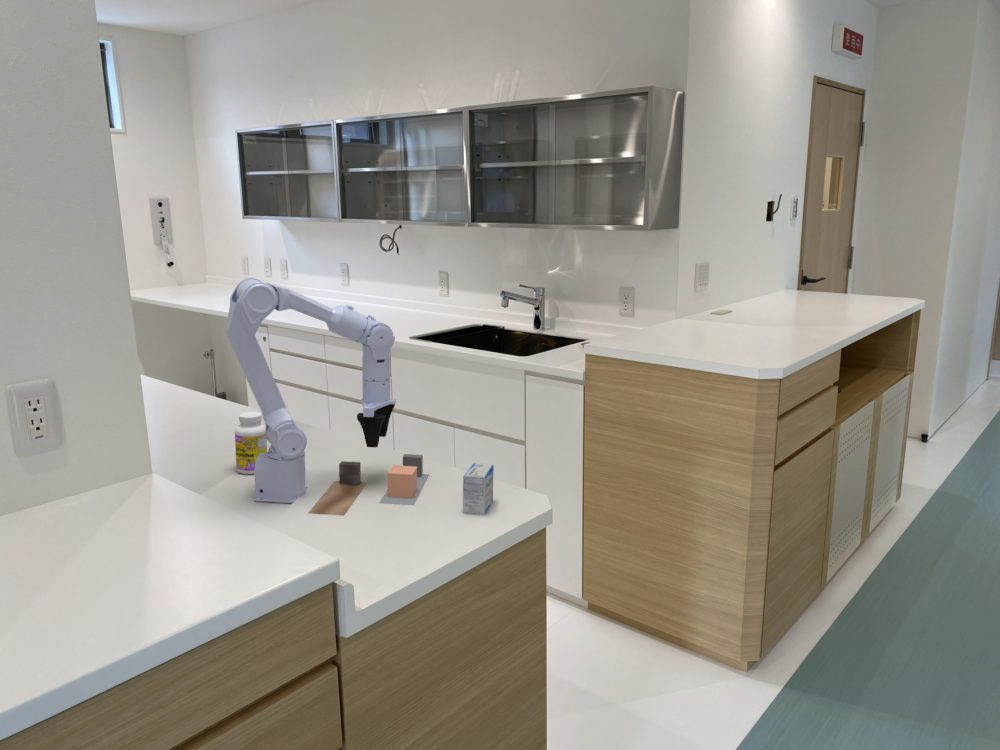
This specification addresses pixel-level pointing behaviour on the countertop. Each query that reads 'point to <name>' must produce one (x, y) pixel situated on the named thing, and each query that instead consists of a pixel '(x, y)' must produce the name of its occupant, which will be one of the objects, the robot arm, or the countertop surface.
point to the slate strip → (421, 479)
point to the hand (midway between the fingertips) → (376, 441)
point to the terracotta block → (402, 481)
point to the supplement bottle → (249, 441)
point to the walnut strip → (341, 491)
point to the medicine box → (478, 489)
